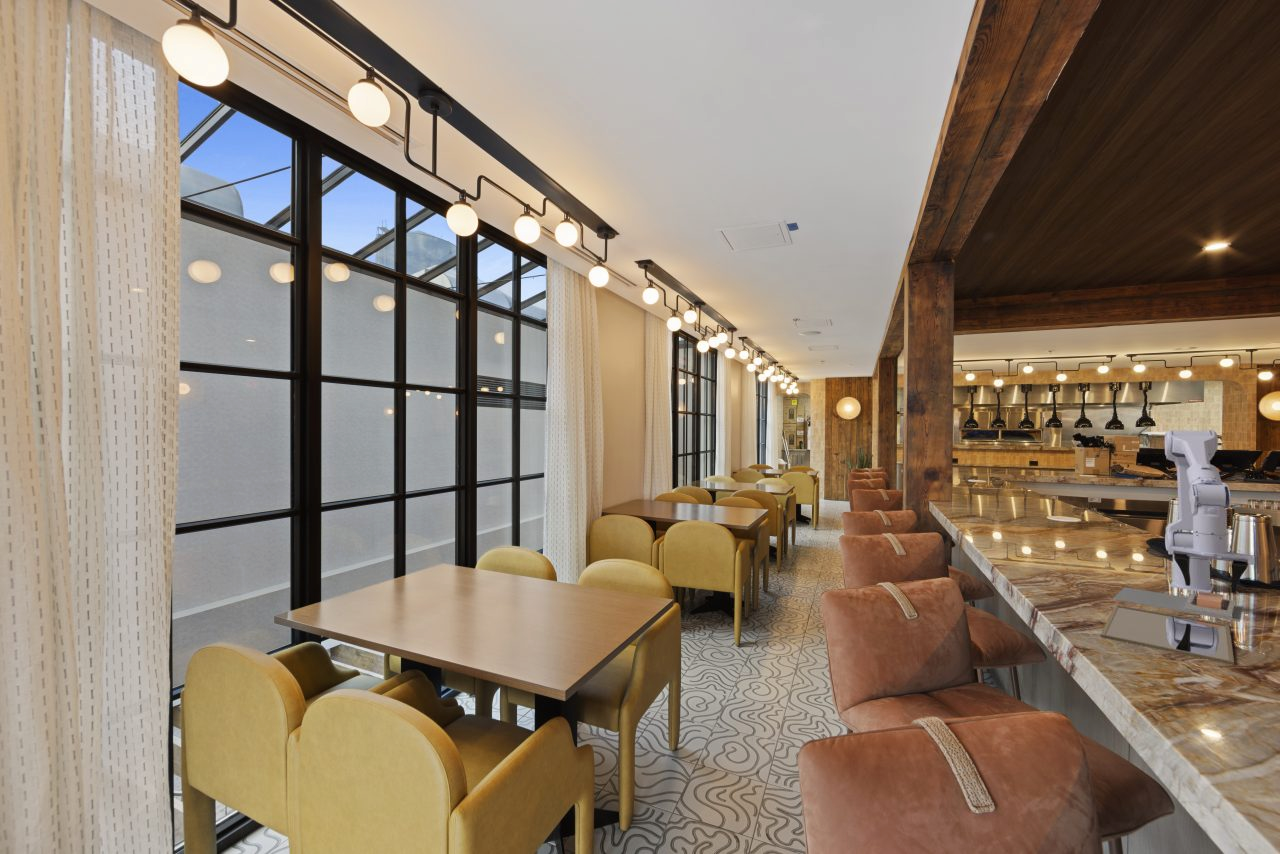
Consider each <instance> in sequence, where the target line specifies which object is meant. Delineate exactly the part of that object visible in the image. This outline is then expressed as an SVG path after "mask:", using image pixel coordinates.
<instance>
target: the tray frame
mask: <svg viewBox="0 0 1280 854" xmlns="http://www.w3.org/2000/svg"><path fill="white" fill-rule="evenodd" d="M1198 595H1199V594H1195V593H1191V594H1190V595H1189V596H1188V598H1189V599H1188V601H1187V602H1186V610H1187V611H1193V612H1198V613H1204V614H1210V615H1215V616H1221V617H1226V618H1232V617H1233V613H1234V609H1235V605H1236V601H1235V600H1233V599H1226V598H1223V599H1224V606H1228V609H1227V610H1222V609H1216V608H1210V607H1204V606H1198V605H1194V603H1195V601H1197V597H1198Z"/></svg>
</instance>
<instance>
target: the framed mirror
mask: <svg viewBox="0 0 1280 854" xmlns="http://www.w3.org/2000/svg"><path fill="white" fill-rule="evenodd" d="M1230 628H1231V627H1230V624H1227V623H1220V622H1215V621H1209V620H1204V619H1198V618H1192V617H1186V616H1182V615H1181V616H1180V615H1175V614H1171V613H1164V612H1158V611H1152V610H1148V609H1147V610H1146V609H1141V608H1135V607H1129V606H1124V605H1117V604H1115V605H1114V607H1113V609H1112V611H1111V613H1110V615H1109V617H1108V619H1107V621H1106V622H1105V625H1104V627H1103V629H1102V631H1101V633H1100V638H1102V637H1103V639H1108V640H1114V641H1118V642H1121V641H1122V642H1123V643H1126V642H1128V643H1127V644H1131V643H1132V644H1131V645H1136V644H1137V646H1140V645H1142V646H1141V647H1145V646H1146V648H1150V647H1151V648H1150V649H1155V648H1156V650H1161V651H1164V650H1165V651H1166V652H1169V651H1170V653H1174V654H1179V655H1185V656H1189V657H1193V658H1197V657H1199V658H1198V659H1202V658H1204V659H1203V660H1207V659H1208V661H1212V660H1213V662H1216V661H1218V662H1217V663H1221V662H1222V664H1227V665H1231V664H1232V666H1235V658H1234V651H1233V643H1232V636H1231V629H1230Z"/></svg>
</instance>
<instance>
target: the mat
mask: <svg viewBox="0 0 1280 854" xmlns="http://www.w3.org/2000/svg"><path fill="white" fill-rule="evenodd" d="M1188 599H1189V596H1188V597H1186V596H1181V595H1174V594H1168V593H1162V592H1157V591H1151V590H1144V589H1138V588H1131V587H1126V586H1124V587H1123V588H1122V589H1121V590H1120V591H1119V592H1118V593H1117V594H1116V595H1115V596H1114V597H1113V598H1112V600H1115V601H1121V602H1127V603H1128V602H1129V603H1132V604H1133V603H1134V604H1140V605H1144V606H1150V607H1156V608H1159V609H1160V608H1161V609H1167V610H1172V611H1178V612H1184V613H1189V614H1194V615H1199V616H1204V617H1205V616H1206V617H1211V618H1215V619H1222V620H1227V621H1232V622H1238V623H1239V622H1240V621H1241V617H1242V611H1243V607H1244V606H1241V605H1236V604H1235V609H1234V613H1233V617H1232V618H1226V617H1221V616H1215V615H1210V614H1204V613H1198V612H1193V611H1187V610H1186V602H1187V601H1188ZM1194 605H1197V601H1195V603H1194ZM1227 609H1228V606H1224V607H1223V610H1227Z"/></svg>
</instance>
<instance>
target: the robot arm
mask: <svg viewBox="0 0 1280 854" xmlns="http://www.w3.org/2000/svg"><path fill="white" fill-rule="evenodd" d="M1218 440H1219V439H1218V434H1217V432H1216V431H1214V430H1213V429H1209V430H1172V429H1168V430H1167V431H1166V432H1165V433H1164V454H1165V457H1166V460H1168V461H1170V462H1171V461H1172V462H1174V464H1175V465H1174V466H1175V468H1176V477H1177V480H1176V482H1177V501H1178V502H1177V503H1178V519H1177V520H1175V521H1173V522H1171V523H1169V524H1167V526H1165V534H1164V541H1165V542H1164V545H1165V549H1166V551H1167V552H1168V555H1172V581H1171V583H1170V584H1169V587H1170V588H1174V589H1175V588H1176V589H1181V590H1188V591H1194V592H1200V591H1202V592H1209V593H1213V590H1214V587H1215V586H1214V585H1213V584H1211V577H1210V576H1211V570H1210V569H1211V567H1210V566H1211V565H1210V564H1211V563H1210V561H1211V560H1214V561H1215V560H1216V561H1225V562H1232V563H1231V588H1230V592H1231V593H1233V594H1236V592H1237V587H1238V583H1239V582H1240V579H1241V578H1242V576H1243V574H1244V572H1245V571H1246V570H1247V568H1248V566H1249V565H1251V566H1253V565H1254V566H1255V565H1256V564H1255V563H1256V559H1255V558H1256V557H1255V555H1254V554H1253V555H1252V554H1246V553H1238V552H1231V551H1228V530H1227V529H1228V528H1227V526H1228V525H1227V520H1228V518H1227V517H1228V515H1227V512H1228V511H1227V509H1229V508H1230V506H1231V499H1232V497H1231V496H1232V495H1231V491H1230V488H1229V486H1228V484H1226V482H1223V481H1222V479H1221V475H1220V472H1219V469H1218V468H1217V467H1216V466H1215V465H1214V464H1211V460H1212V459H1213V457H1214V456H1215V453H1216V452H1217V450H1218V447H1219V446H1218V444H1219V441H1218ZM1189 531H1191V532H1189Z"/></svg>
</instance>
